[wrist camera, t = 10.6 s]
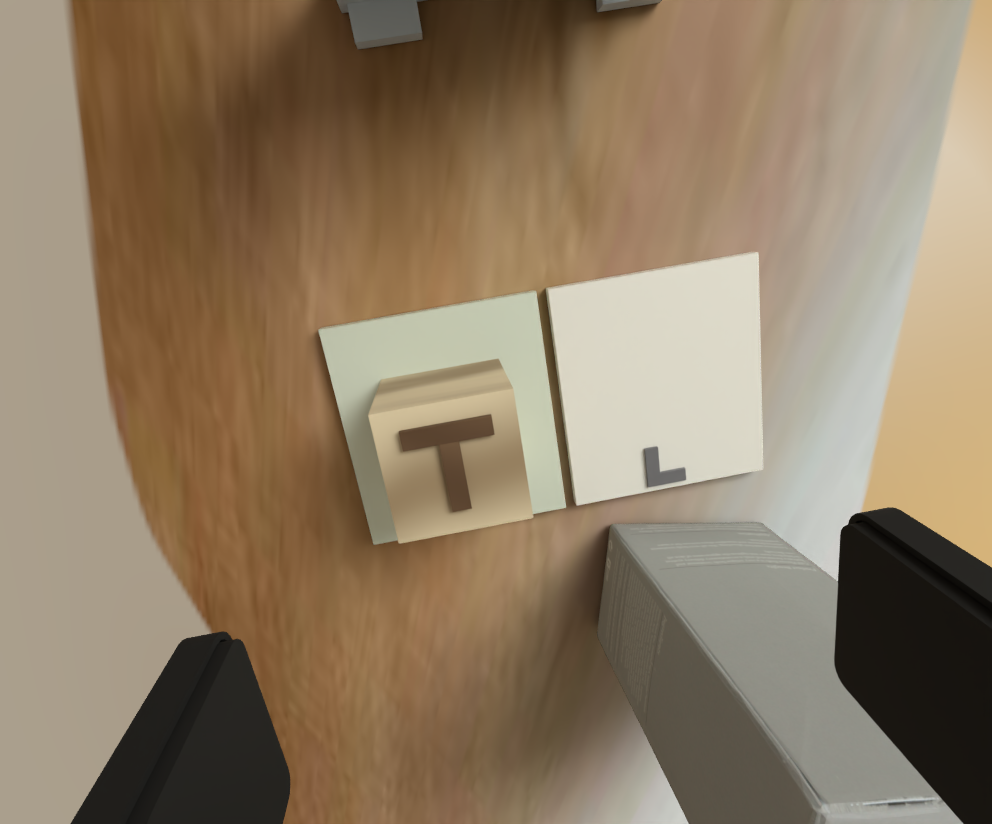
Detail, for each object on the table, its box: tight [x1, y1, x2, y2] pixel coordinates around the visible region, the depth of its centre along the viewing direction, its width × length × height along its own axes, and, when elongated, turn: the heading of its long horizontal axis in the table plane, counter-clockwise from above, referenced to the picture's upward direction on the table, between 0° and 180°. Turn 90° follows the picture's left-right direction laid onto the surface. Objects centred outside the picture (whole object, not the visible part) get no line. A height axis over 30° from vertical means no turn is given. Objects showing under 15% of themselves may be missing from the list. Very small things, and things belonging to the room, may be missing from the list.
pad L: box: [546, 252, 763, 505], centre depth 26 cm, size 10×9×1 cm
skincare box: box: [597, 523, 963, 824], centre depth 22 cm, size 8×7×16 cm
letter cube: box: [368, 359, 533, 544], centre depth 23 cm, size 5×5×5 cm
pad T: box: [318, 290, 566, 545], centre depth 26 cm, size 10×9×1 cm
